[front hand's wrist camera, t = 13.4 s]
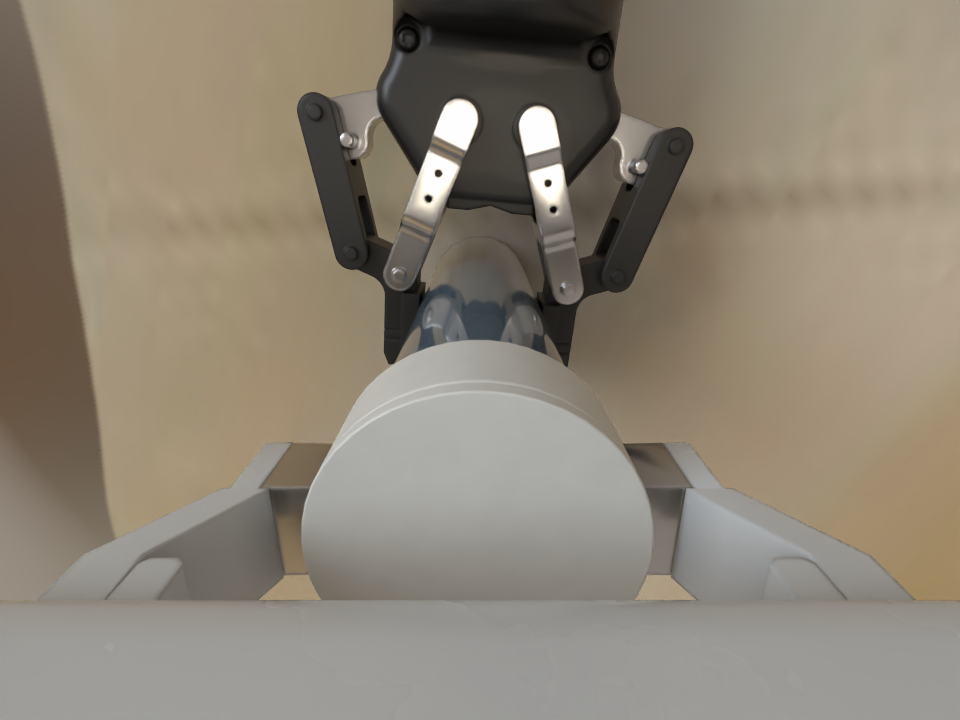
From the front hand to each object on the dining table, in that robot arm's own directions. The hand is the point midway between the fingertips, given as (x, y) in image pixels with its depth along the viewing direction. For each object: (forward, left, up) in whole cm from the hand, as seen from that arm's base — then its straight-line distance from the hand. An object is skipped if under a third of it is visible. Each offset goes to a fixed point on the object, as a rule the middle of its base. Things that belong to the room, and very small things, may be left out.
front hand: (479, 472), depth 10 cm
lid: (0, 0, +2) cm, 2 cm away
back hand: (-3, 0, -11) cm, 12 cm away
